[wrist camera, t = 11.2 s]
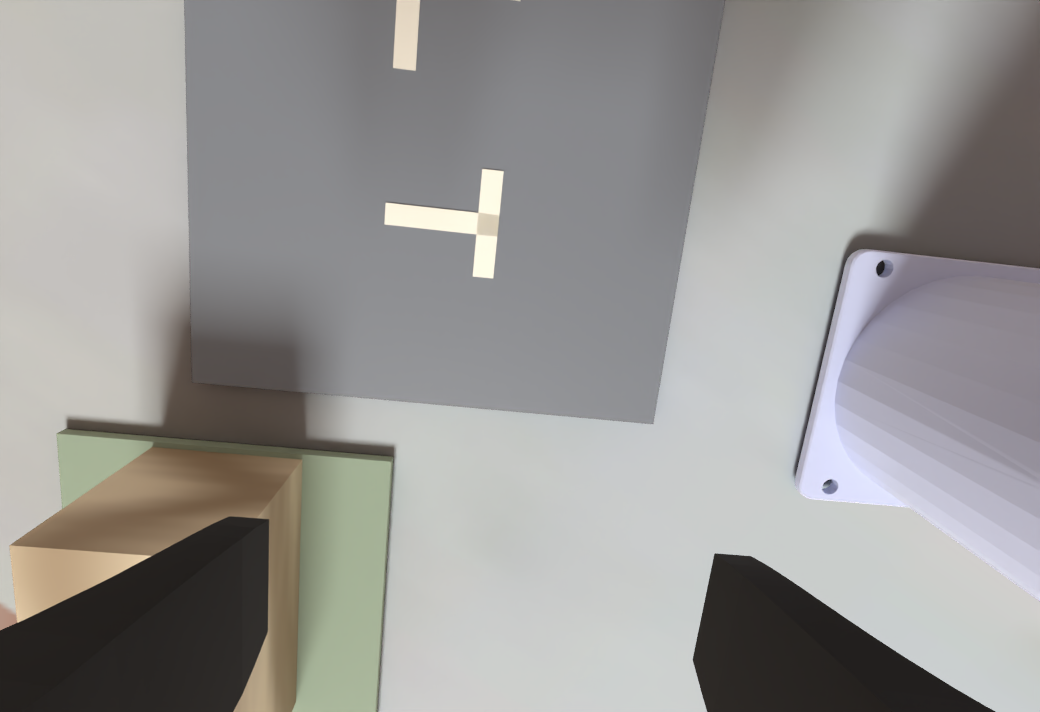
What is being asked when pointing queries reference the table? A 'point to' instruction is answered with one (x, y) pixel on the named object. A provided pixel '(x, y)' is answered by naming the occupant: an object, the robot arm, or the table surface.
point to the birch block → (165, 521)
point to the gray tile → (443, 196)
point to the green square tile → (323, 554)
